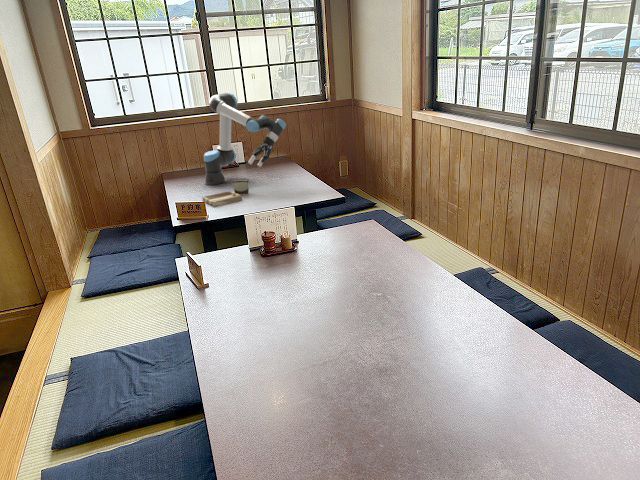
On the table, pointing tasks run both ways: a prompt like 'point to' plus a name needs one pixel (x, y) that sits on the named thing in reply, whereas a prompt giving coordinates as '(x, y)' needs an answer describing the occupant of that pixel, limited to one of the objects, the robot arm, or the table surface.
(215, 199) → the tray
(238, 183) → the food container
